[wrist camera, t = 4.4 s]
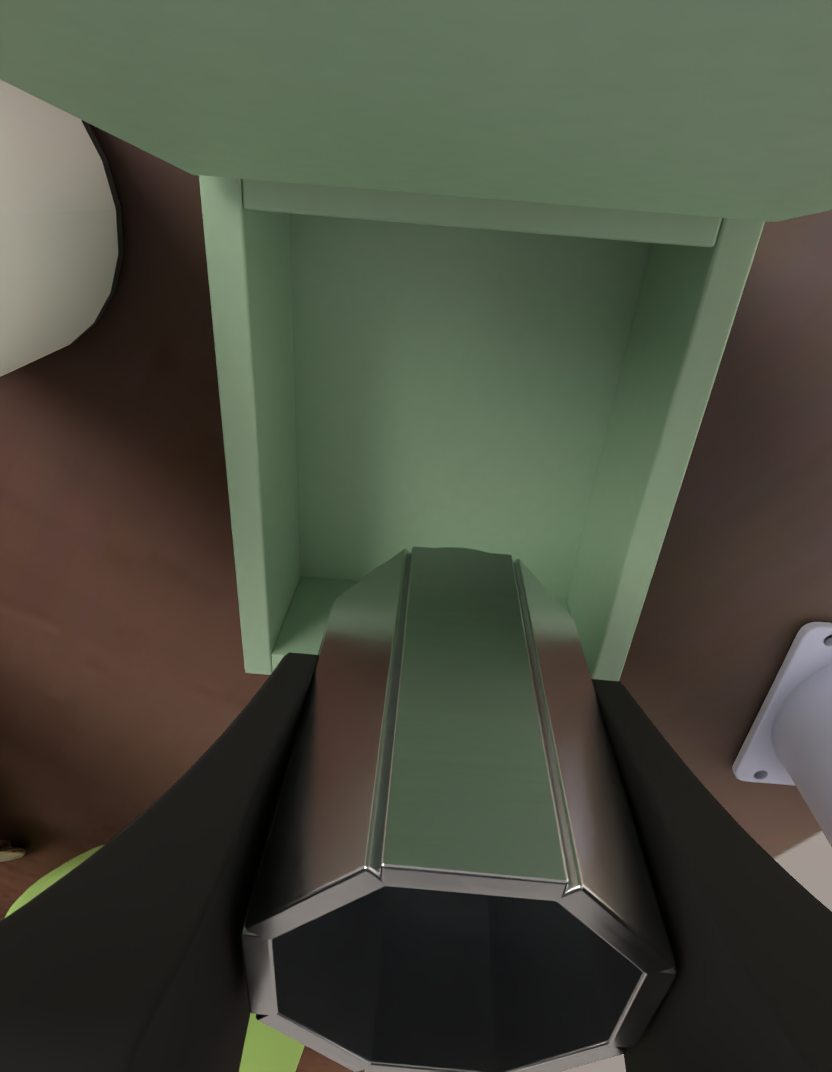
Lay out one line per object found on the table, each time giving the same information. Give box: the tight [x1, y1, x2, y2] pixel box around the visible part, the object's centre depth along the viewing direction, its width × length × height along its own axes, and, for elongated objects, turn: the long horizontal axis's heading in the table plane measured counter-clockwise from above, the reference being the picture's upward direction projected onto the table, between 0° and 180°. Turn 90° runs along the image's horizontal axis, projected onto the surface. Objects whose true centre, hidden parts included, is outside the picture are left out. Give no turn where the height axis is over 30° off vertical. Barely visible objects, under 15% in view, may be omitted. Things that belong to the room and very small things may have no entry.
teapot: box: [5, 845, 305, 1072], centre depth 26 cm, size 22×15×13 cm
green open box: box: [199, 175, 765, 681], centre depth 16 cm, size 13×11×5 cm
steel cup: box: [239, 546, 677, 1072], centre depth 11 cm, size 5×5×7 cm
